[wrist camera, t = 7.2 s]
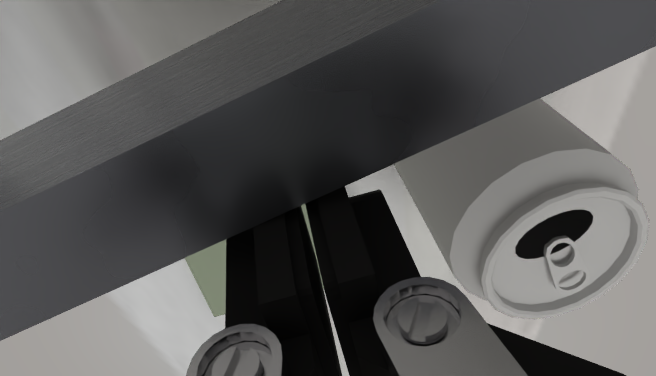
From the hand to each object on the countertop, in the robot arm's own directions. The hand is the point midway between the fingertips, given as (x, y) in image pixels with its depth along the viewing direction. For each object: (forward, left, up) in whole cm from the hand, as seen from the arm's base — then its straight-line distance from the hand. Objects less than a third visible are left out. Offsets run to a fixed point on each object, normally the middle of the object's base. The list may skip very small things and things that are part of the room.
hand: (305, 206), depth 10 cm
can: (+7, +8, -15) cm, 19 cm away
